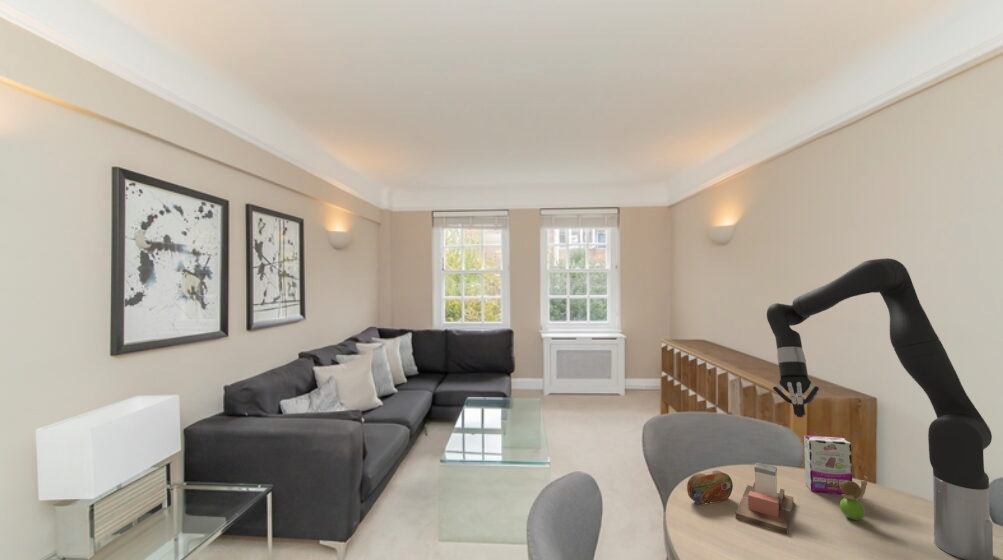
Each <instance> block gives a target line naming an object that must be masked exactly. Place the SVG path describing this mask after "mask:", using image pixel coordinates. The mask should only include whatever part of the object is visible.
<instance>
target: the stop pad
mask: <svg viewBox="0 0 1003 560" xmlns="http://www.w3.org/2000/svg"><path fill="white" fill-rule="evenodd" d="M748 509H750V510H753V511H757V512H760V513H764V514H767V515H771V516H774V517H777V518H778V514H779V499H778V498H775V497H771V496H767V495H763V494H760V493H756V492H752V491H750V492H749V494H748Z"/></svg>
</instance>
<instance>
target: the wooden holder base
mask: <svg viewBox="0 0 1003 560" xmlns="http://www.w3.org/2000/svg"><path fill="white" fill-rule="evenodd" d="M750 491H752V492H755V481H754V482H753V485H752V486H751V485H749V484H748V485H746V488H745V490H744V492H743V494H742V497H741V499H740V500H739V501H740V502H739V504H738V507H737V508H736V511H735V519H737V520H740V521H743V522H747V523H750V524H752V525H756V526H759V527H762V528H765V529H769V530H771V531H776V532H779V533H780V534H781V533H782V534H784V535H785V534H786V535H788V533H789V526H790V521H791V517H792V510H793V506H794V496H791V495H788V494H787V495H786V494H785V489H784V488H780V490H779V492H777V498H778V499H779V514H778V518H777V517H774V516H771V515H767V514H764V513H760V512H757V511H753V510H750V509H748V494H749V492H750Z"/></svg>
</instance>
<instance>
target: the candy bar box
mask: <svg viewBox="0 0 1003 560" xmlns="http://www.w3.org/2000/svg"><path fill="white" fill-rule="evenodd" d="M803 439H804V440H803V442H804V447H803V448H804V471H805V472H804V473H805V474H804V475H805V485H806V487H807V488H808V490H810V491H811V492H813V493H823V494H830V495H841V496H842V494H844V493H843V492H842V490H841V485H842V483H843V482H845V481H853V468H852V443H851V442H850V441H848V440H847V439H846V438H845V437H835V436H819V435H806V434H804V435H803Z"/></svg>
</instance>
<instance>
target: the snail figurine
mask: <svg viewBox="0 0 1003 560" xmlns="http://www.w3.org/2000/svg"><path fill="white" fill-rule="evenodd" d="M863 478H864V479H861V480H860V485H859V484H858V483H856V482H855V481H853V480H852V481H845V482H843V483H842V485H841V490H842V492H843V493H844V494H842V495H841V496H842V497H843V498H842V499H841V500H840V501H839V509H840V511H841V513H842V514H843V515H845V517H847V518H848V519H850V520H855V521H857V520H861V519H863V518H864V517H865V516H866V510H865V507H864V505H863V504H862V503H861V501H859V499H861V498H863V497H864V495H865V493H866V489H867V486H868V482H867V481H868V476H866V475H864V476H863Z"/></svg>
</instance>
